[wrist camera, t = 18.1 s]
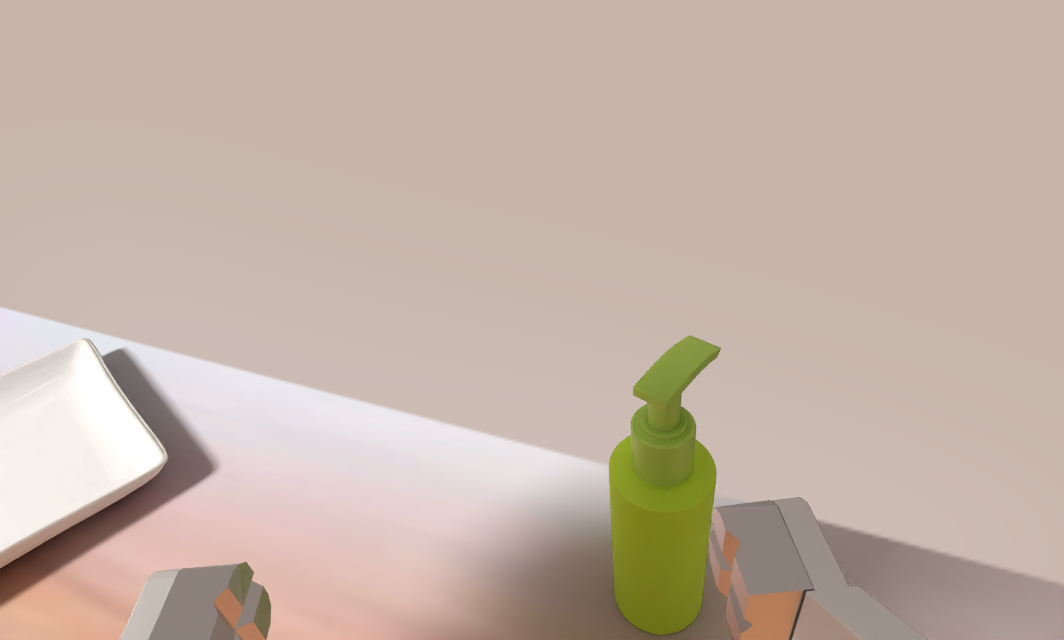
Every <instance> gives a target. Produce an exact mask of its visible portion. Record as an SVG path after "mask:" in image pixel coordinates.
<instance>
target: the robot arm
mask: <svg viewBox="0 0 1064 640" xmlns="http://www.w3.org/2000/svg"><path fill="white" fill-rule="evenodd" d="M711 521H712V524H713V527H714V531H713V532H712V533H711V534H710V535H709V556H710V564H711V568H712V572H713V576H714V580H715V583H716V586H717V589H718V590H719V591H720V592H721V593H722V594H724V595H725V596H726V597H727V605H726V612H725V615H726V618H727V621H728V624H729V628H730V631H731V634H732V637H733V640H928V639H926V638H925V637H924V636H922V635H921V634H920V633H919V632H917V631H916V630H915V629H913V628H912V627H911V626H910V625H908V624H907V623H906V622H904V621H903V620H902V619H901V618H899V617H898V616H897V615H895V614H894V613H893V612H891V611H890V610H889V609H888V608H886V607H885V606H884V605H882V604H881V603H880V602H879V601H877V600H876V599H875V598H873V597H872V596H871V595H870V594H868V593H867V592H866V591H864V590H863V589H862V588H861V587H859V586H849V585H848V583H847V581H846V579H845V577H844V575H843V573H842V571H841V569H840V567H839V565H838V563H837V561H836V559H835V557H834V555H833V553H832V551H831V549H830V547H829V545H828V543H827V541H826V539H825V537H824V535H823V533H822V531H821V529H820V527H819V525H818V523H817V520H816V518H815V516H814V514H813V512H812V510H811V508H810V506H809V505H808V503H807V502H806V501H805V500H804V499H803V498H800V497H797V498H790V499H782V500H775V501H770V500H768V501H761V502H753V503H745V504H738V505H730V506H723V507H715V508H714V509H713V511H712V517H711ZM253 573H254V572H253V571H252V569H251V568H250V567H249V565H248V564H247V563H246V562H242V563H233V564H223V565H214V566H205V567H195V568H182V569H174V570H165V571H157V572H154V573H153V575H152V576H151V577H150V578H149V579H148V580H147V581H146V583H145V585H144V587H143V589H142V592H141V594H140V596H139V598H138V600H137V603H136V605H135V607H134V609H133V611H132V614H131V616H130V618H129V620H128V622H127V625H126V627H125V629H124V631H123V633H122V636H121V638H120V640H266V639H267V635H268V631H269V627H270V621H271V604H270V600H269V596H268V593H267V592H266V590H265V588H264V587H263V586H262V585H259V584H257V583H255V582H253V581H251V580H252V577H253Z"/></svg>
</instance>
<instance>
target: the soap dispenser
mask: <svg viewBox="0 0 1064 640" xmlns="http://www.w3.org/2000/svg"><path fill="white" fill-rule="evenodd" d="M720 349H721V348H720V347H717V346H715V345H713V344H710V343H708V342H705V341H703V340H700V339H698V338H695V337H693V336H688V337H686V338H684V339H683V340H681V341H680V342H678V343H677V344H675V345H674V346H673V347H672V348H670V349H669V350H668V351H667V352H666V353H665V354H664V355H663V356H662V357H661V358H660V359H659V360H658V361H657V362H656V363H655V364H654V365H653V366H652V367H651V368H650V369H649V370H648V371H647V372H646V373H645V374H644V376H643V377H642V378H641V379H640V380H639V381H638V382H637V383H636V385H635V386H634V387H633V395H634V396H636V397H638V398H640V399H642V400H644V401H646V402H647V405H645V406H643V407H641V408H640V409H638V410H637V411H636V413H635V414H634V416H633V417H632V421H631V435H630V436H628V437H627V438H625V439H624V440H623V441H621V442H620V443H619V444H618V445H617V447H616V448H615V449H614V451H613V453H612V455H611V458H610V462H609V482H610V505H611V527H612V550H613V572H614V593H615V599H616V602H617V605H618V607H619V609H620V611H621V613H622V614H623V615H624V617H625V618H626V619H627V620H628V621H629V622H630V623H631V624H633V625H634V626H636V627H637V628H639V629H641V630H643V631H646V632H649V633H652V634H660V635H665V634H672V633H676V632H679V631H681V630H683V629H685V628H686V627H688V626H689V625H690V624H691V623H692V622H693V621H694V620H695V619H696V617H697V615H698V614H699V611H700V609H701V605H702V598H703V589H704V580H705V571H706V562H707V554H708V545H709V535H710V527H711V517H712V510H713V501H714V492H715V483H716V467H715V463H714V460H713V458H712V456H711V455H710V453H709V452H708V450H707V449H706V448H705V447H704V446H703V445H702V444H701V443H700V442H698V441H697V440H696V439H695V437H696V424H695V420H694V418H693V416H692V415H691V414H690V413H689V412H688V411H687V410H686V409H684V408H683V407H681V393H682V392H683V391H684V390H685V389H686V387H687V386H688V385H689V384H690V383H691V382H692V380H693V379H694V378H695V377H696V376H697V375H698V374H699V373H700V372H701V371H702V370H703V369H704V368H705V367H706V366H707V365H708V364H709V363H710V362H712V361H713V360H714V359H715V358H717V356H718V354H719V352H720Z"/></svg>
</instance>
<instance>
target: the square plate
mask: <svg viewBox="0 0 1064 640" xmlns="http://www.w3.org/2000/svg"><path fill="white" fill-rule="evenodd" d="M167 461H168V454H167V451H166V449H165V448H164V446H163V445H162V443H161V442H160V440H159V439H158V437H157V436H156V435H155V434H154V432H153V431H152V430H151V428H150V427H149V426H148V424H147V423H146V422H145V420H144V419H143V418H142V417H141V415H140V414H139V413H138V411H137V410H136V408H135V407H134V406H133V404H132V403H131V402H130V401H129V399H128V398H127V396H126V395H125V394H124V392H123V391H122V389H121V388H120V386H119V385H118V383H117V382H116V380H115V378H114V377H113V375H112V374H111V372H110V370H109V369H108V367H107V365H106V364H105V362H104V360H103V358H102V357H101V355H100V353H99V352H98V350H97V348H96V347H95V345H94V344H93V343H92V342H91V341H90V340H89V339H81V340H77V341H75V342H73V343H71V344H68V345H66V346H64V347H62V348H59V349H57V350H55V351H53V352H50V353H48V354H46V355H43V356H41V357H39V358H37V359H34V360H32V361H30V362H27V363H25V364H23V365H21V366H18V367H16V368H14V369H11V370H9V371H7V372H5V373H2V374H0V568H2V567H3V566H5V565H7V564H8V563H10V562H12V561H13V560H15V559H17V558H19V557H20V556H22V555H24V554H25V553H27V552H29V551H30V550H32V549H34V548H36V547H37V546H39V545H41V544H42V543H44V542H46V541H47V540H49V539H51V538H52V537H54V536H56V535H58V534H59V533H61V532H63V531H65V530H66V529H68V528H70V527H72V526H74V525H75V524H77V523H79V522H81V521H83V520H84V519H86V518H88V517H90V516H92V515H93V514H95V513H97V512H99V511H100V510H102V509H104V508H106V507H107V506H109V505H111V504H113V503H114V502H116V501H118V500H120V499H121V498H123V497H125V496H126V495H128V494H130V493H131V492H133V491H134V490H136V489H138V488H139V487H141V486H142V485H144V484H145V483H147V482H148V481H149V480H151V479H152V478H154V477H155V476H156V475H157V474H158V473H159V472H160V471H161V469H162V468H163V466H164V465H165V463H166V462H167Z"/></svg>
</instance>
